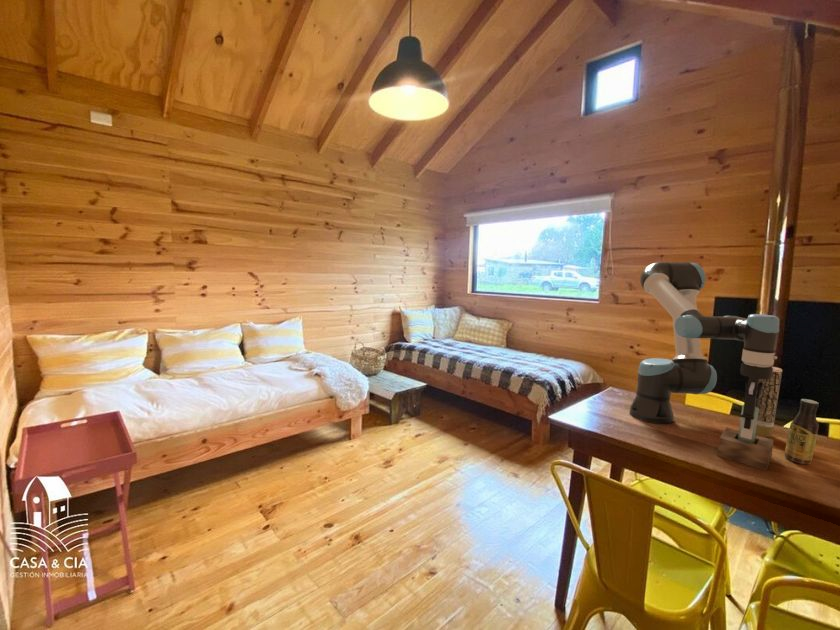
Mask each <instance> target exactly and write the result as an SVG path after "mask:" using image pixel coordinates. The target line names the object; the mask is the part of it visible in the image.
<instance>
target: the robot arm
mask: <svg viewBox="0 0 840 630" xmlns="http://www.w3.org/2000/svg"><path fill="white" fill-rule="evenodd" d="M639 283H640V286H641V287H642V289H643V291H644V292H645V293H647V294H649V295H652V296H653V297H654V298H655V300H657V302H658V303H659V304H660V305H661V306H662V308H663V309H664V310H665V312H667V313H668V314H669V315H670V316H671V318H672V326H673V327H672V328H673V337H674V347H675V356H674V357H672V360H671V359H670V358H669V359H668V358H660V357H655V358H654V357H652V358H645V359H644V360H641V361H640V363H639V366H638V370H637V383H636V395H635V396H634V399H633V401H632V403H631V404H630V407H629V414H630V415H631V416H632V417H633V418H635V419H637V420H641V421H642V422H643V421H644V422H648V423H652V424H660V425H669V424H672V423H673V421H674V417H675V416H674V412H673V409H672V404H671V395H672V394H687V395H688V394H690V395H691V394H692V395H706V394H709V393H710V392H711V391H713V390H714V388H715V387H716V385H717V380H718V374H717V370H716V369H715V368H714V366H713V365H712V364H709V363H708V362H709V361H708V358H707V357H705V356H704V355H703V352H702V343H701V339H713V340H735V341H739V342H743V348H742V353H741V361H742V362H741V364H740V369H739V370H740V371H739V374H740V375H741V376H743V377H747V378H748V380H746V381H745V383H744V384H745V385H744V387H745V390H744V402H743V405H744V409H743V414H742V415H741V414H740V415H739V417H740V418H741V417H743V420H742V427H741V434H740V437H743V438H747V439H752V433H753V426H754V413H755V407H758V403H759V397H760V395H761V390H762V388H763V383H762V381H761V379H771V378H772V372H773V368H772V367H773V366H774V364H775V360H777V359H778V356H777V355H776V351H777V344H778V338H779V332H780V318H779V317H778V316H777V315H772V314H771V315H770V314H761V313H752V314H751V313H750V314H748V316H747V318H746V317H740V316H738V315H723V316H717V315H715V316H713V315H704V314H703V313H702V312H701V311H700V310H699V309H698V307H697V296H698V295H699V294H700V293H701V290H702V289H703V288H704V286H705V285H706V284H705V283H706V273H705V270H704V268H703V267H702V266H701V265H699V264H698V263H696V262H687V261H683V262H677V261H672V262H671V261H656V262H653V263H651V264H648V265H647V266H646V267H645V268H643V270H642V271H641V273H640V275H639ZM771 366H772V367H771ZM759 414H760V413H759V412H758V415H759Z"/></svg>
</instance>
